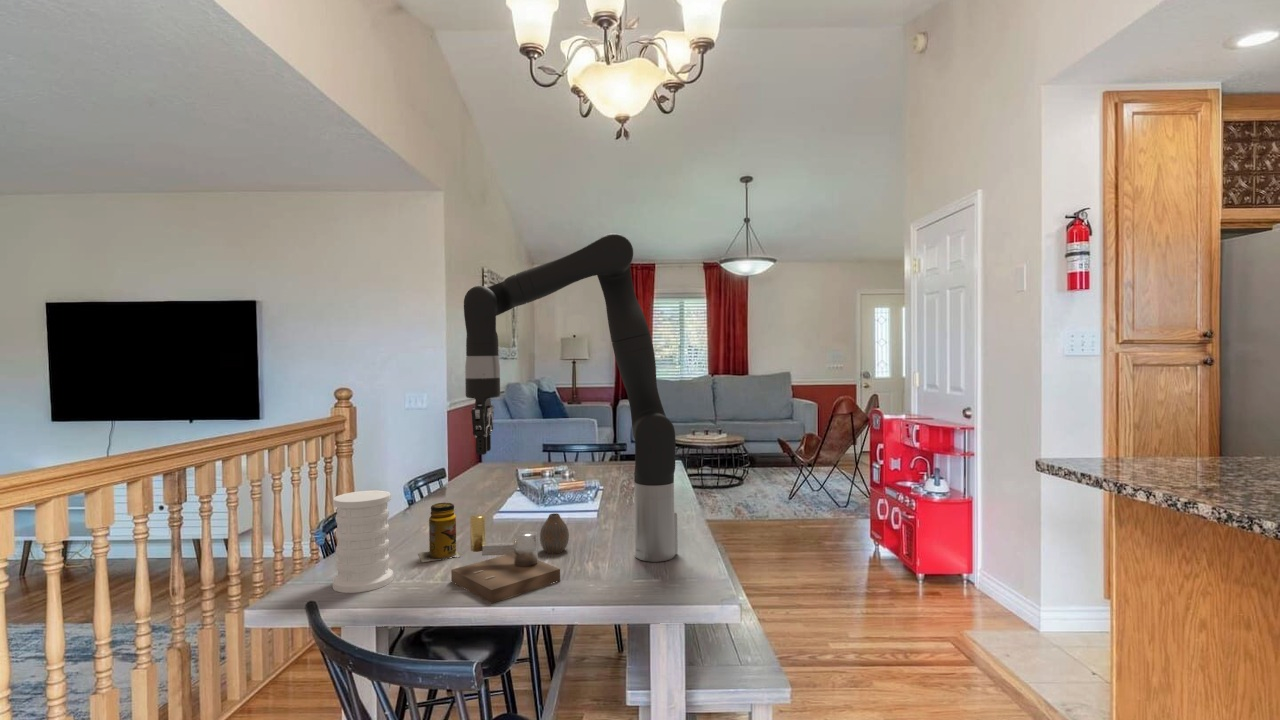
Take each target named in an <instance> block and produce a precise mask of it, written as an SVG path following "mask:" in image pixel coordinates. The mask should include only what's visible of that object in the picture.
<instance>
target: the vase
mask: <svg viewBox="0 0 1280 720" xmlns="http://www.w3.org/2000/svg"><path fill="white" fill-rule="evenodd" d="M569 540H570V532H569V527H568V525H567V524H566V523H565V521H564V520H563V519H562V517H561V516H560V514H559V513H555V512H554V513H550V514H549V515H548V517H547V519H546V520H545V522H544V523H543V525H542V526H541V529H540V532H539V541H540V544H541V547H542V549H543V550H544V551H545V552H546V553H547V552H548V553H547V554H552V553H554V554H559V553H558V552H560V553H562V552H563V551H564V550H565V549H566V548H567V546H568V544H569Z"/></svg>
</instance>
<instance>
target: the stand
mask: <svg viewBox="0 0 1280 720" xmlns="http://www.w3.org/2000/svg"><path fill="white" fill-rule="evenodd" d="M450 571H451V572H450V577H451V581H452V582H451V583H453V582H454V583H453V584H455V583H456V584H455V585H457V584H458V585H457V586H459V587H460V586H461V587H460V588H462V587H463V588H462V589H464V588H465V589H464V590H466V589H467V590H466V591H468V592H470V593H471V594H473V593H474V595H475V596H477V597H479V598H482V599H483V600H485V601H486V602H488V603H491V604H494V603H497V602H500V601H502V600H505V599H509V598H511V597H515V596H518V595H521V594H524V593H528V592H531V591H534V590H537V589H540V588H543V587H547V586H549V585H552V584H554V583H553V582H555V583H557V582H556V581H559V580H560V581H561V568H559V567H557V566H554V565H551V564H549V563H547V562H544V561H541V560H539V559H538V562H537V563H536V564H534V565H529V566H518V565H515V564H514V555H499V556H496V557H493V558H490V559H486V560H483V561H478V562H474V563H471V564H468V565H464V566H459V567H456V568H452V569H451V570H450ZM560 581H559V582H560ZM551 583H552V584H551ZM548 584H549V585H548Z"/></svg>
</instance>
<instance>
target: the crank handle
mask: <svg viewBox="0 0 1280 720" xmlns="http://www.w3.org/2000/svg"><path fill="white" fill-rule="evenodd" d="M469 518H470V520H469V521H470V552H473V553H475V552H478V553H479V552H481V556H484V557H485V556H504V555H514V564H515V565H518V566H529V565H534V564H536V563H537V562H538V560H539V556H538V555H539V551H538V550H539V549H538V548H539V546H538V545H539V544H538V543H539V542H538V540H539V539H538V535H539V533H538V532H537V531H535V530H520V531H517V532H514V533H513V542H512V541H511V542H486V515H485V514H474V515H471V516H470V517H469Z"/></svg>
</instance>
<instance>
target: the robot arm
mask: <svg viewBox="0 0 1280 720" xmlns="http://www.w3.org/2000/svg"><path fill="white" fill-rule="evenodd" d="M633 258H634V247H633V245H632V243H631V241H630V240H629V239H628V238H627V237H626V236H624V235H623V234H620V233H607V234H604V235H603V236H601V237H600V238H598V239H597V240H595V241H593V242H591V243H590V244H588V245H586V246H584V247H582V248H580V249H578V250H576V251H574V252H572V253H569V254H567V255H565V256H562V257H560V258H557V259H555V260H551V261H548V262H545V263H543V264H540V265H537V266H534V267H531V268H528V269H525V270H522V271H520V272H518V273H515V274H512V275H509V276H508V277H507V278H505V279H504V280H503V281H501V282H498V283H495V284H493V285H490V286H487V287H486V286H483V285H477V286H473V287H471V288H470V289H468V291H466V293H465V296H464V299H463V316H464V325H465V332H466V343H465V344H466V345H465V346H466V348H465V349H466V350H465V351H466V352H465V354H466V355H465V356H466V357H465V358H466V359H465V367H464V368H465V371H464V373H465V376H464V377H465V381H464V382H465V397H466V398H467V399H474V400H475V402H474V406H472V409H471V411H470V412H471V422H472V434H473V436H474V438H475V453H476V455H480V456H481V455H486V454H487V452H489V451H491V450H492V445H491V444H492V436H491V435H492V433H493V430H494V411H495V406H494V405H493V404H492V402H491V401H492V400H491V399H495V398H499V397H500V396H501V366H500V357H499V336H498V332H497V316H499V315H501V314H504V313H505V312H508V311H509V310H512V309H514V308H516V307H520V306H523V305H526V304H529V303H531V302H534V301H536V300H540V299H542V298H545V297H547V296H550V295H551V294H553V293H556V292H558V291H559V290H561V289H563V288H565V287H567V286H570V285H573V284H574V283H577V282H579V281H582V280H584V279H588V278H592V277H595V276H596V277H597V279H598V281H599V285H600V287H601V290H602V291H601V292H602V294H603V297H604V301H605V302H604V303H605V307H606V308H605V309H606V317H607V323H608V329H609V336H610V340H611V344H612V345H611V346H612V348H613V353H614V357H615V362H616V365H617V368H618V371H619V375H620V377H621V381H622V384H623V386H624V388H625V392H626V394H627V398H628V403H629V410H630V417H631V427H632V436H633V439H634V450H635V452H634V457H635V458H634V461H635V462H634V471H633V476H634V477H633V479H634V481H633V483H634V486H633V488H634V550H635V551H634V557H635V558H636V559H637V560H640V561H645V562H651V563H652V562H653V563H654V562H657V563H659V562H666V561H670V560H672V559H673V558H675V557H676V555H678V547H679V546H678V541H679V540H678V514H677V512H675V471H676V430H675V426H674V424H673V423H672V421H671V420H670V419H669V418H668V417H667V415H666V413H665V410H664V407H663V405H662V401H661V398H660V394H659V389H658V383H657V365H656V363H657V362H656V357H655V348H654V343H653V340H652V335H651V332H650V329H649V326H648V325H649V324H648V322H647V320H646V317H645V314H644V313H643V310H642V308H641V305H640V304H639V301H638V298H637V296H636V293H635V287H634V283H633V278H632V277H633V275H632V270H631V269H632V268H631V263H632V261H633Z"/></svg>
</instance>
